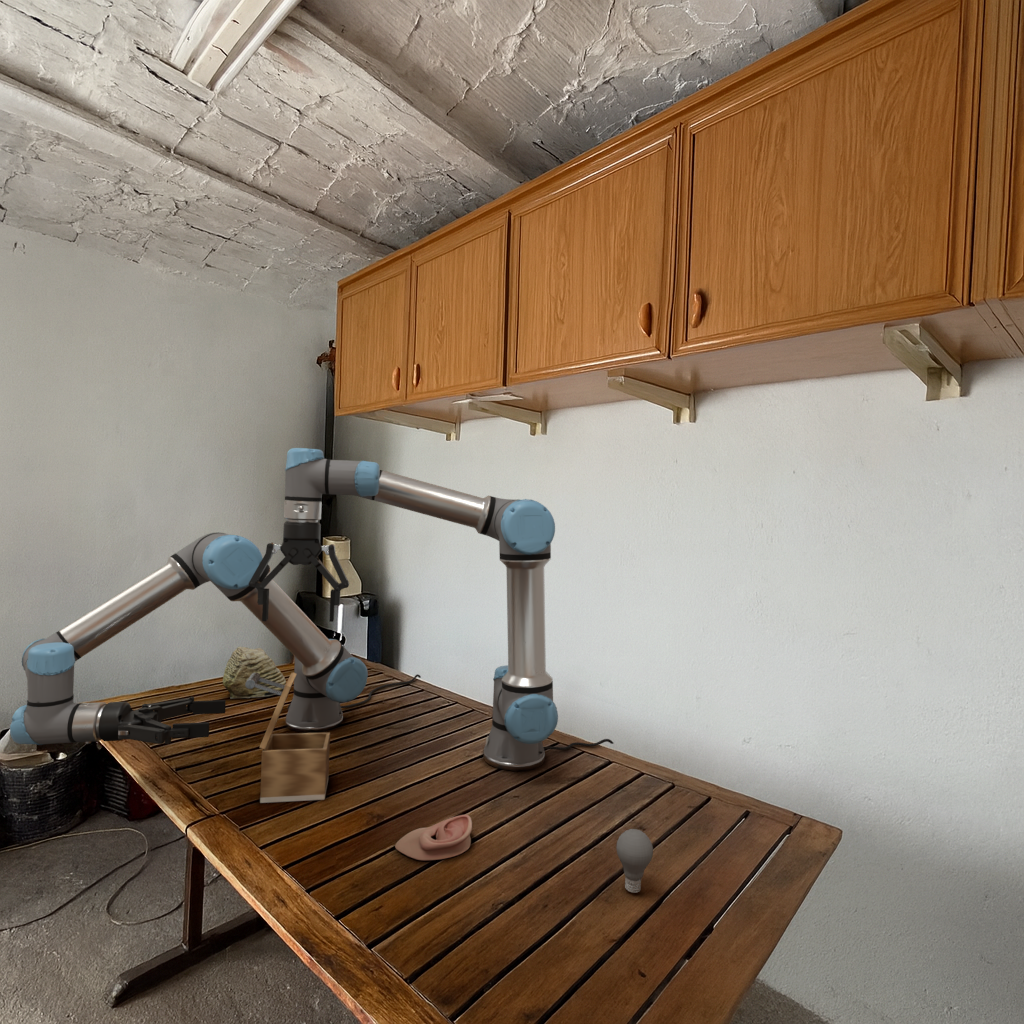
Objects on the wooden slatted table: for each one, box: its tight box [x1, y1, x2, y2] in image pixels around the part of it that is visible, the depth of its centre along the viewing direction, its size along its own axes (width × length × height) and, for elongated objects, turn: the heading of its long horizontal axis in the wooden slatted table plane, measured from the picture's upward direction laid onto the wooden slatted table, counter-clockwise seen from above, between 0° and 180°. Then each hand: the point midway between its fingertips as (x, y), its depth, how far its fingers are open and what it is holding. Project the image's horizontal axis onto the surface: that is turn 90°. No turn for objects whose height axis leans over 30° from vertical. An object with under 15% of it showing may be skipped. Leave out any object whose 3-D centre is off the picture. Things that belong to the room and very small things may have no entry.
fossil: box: [222, 646, 287, 699], centre depth 198 cm, size 9×18×15 cm, turn 132°
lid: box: [245, 672, 297, 750], centre depth 134 cm, size 14×10×9 cm
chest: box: [259, 731, 331, 804], centre depth 136 cm, size 13×10×11 cm
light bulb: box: [615, 828, 654, 894], centre depth 106 cm, size 6×6×10 cm
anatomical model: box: [394, 814, 473, 861], centre depth 117 cm, size 13×4×12 cm
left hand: (217, 717), depth 132 cm, fingers open, 13 cm apart
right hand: (298, 620), depth 135 cm, fingers open, 13 cm apart
